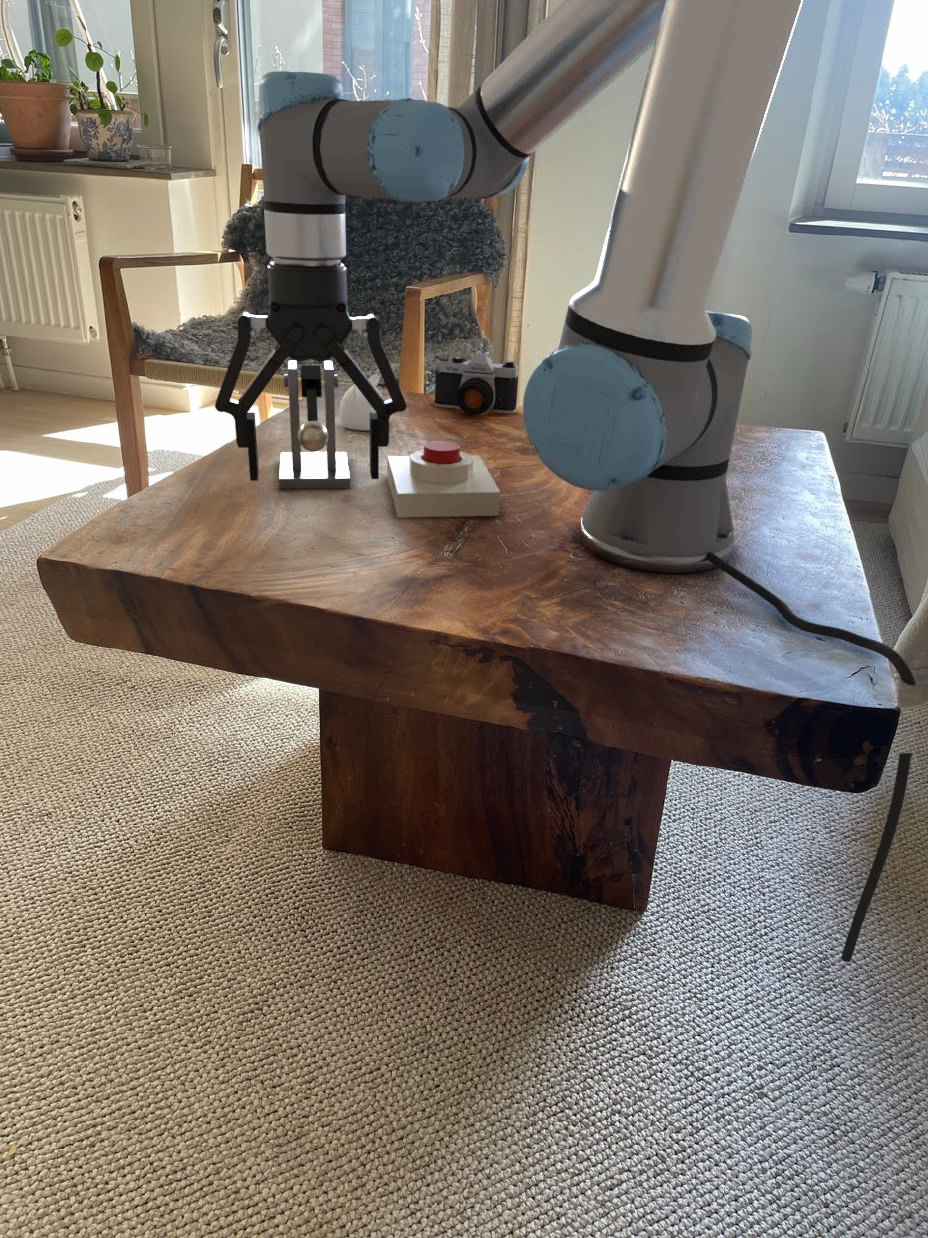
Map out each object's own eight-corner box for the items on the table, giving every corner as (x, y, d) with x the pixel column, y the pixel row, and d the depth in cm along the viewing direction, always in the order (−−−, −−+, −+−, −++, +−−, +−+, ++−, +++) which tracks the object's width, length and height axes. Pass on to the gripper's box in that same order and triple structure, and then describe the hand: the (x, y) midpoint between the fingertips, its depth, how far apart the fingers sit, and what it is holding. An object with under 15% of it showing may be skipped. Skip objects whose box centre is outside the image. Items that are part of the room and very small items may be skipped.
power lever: (329, 457, 94) (328, 433, 92) (298, 457, 94) (297, 433, 91) (325, 385, 103) (324, 361, 100) (297, 385, 102) (296, 361, 100)
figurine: (372, 436, 120) (372, 387, 117) (329, 429, 122) (328, 381, 119) (395, 421, 127) (395, 375, 124) (354, 416, 129) (354, 370, 126)
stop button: (462, 466, 97) (462, 450, 96) (425, 466, 97) (426, 451, 96) (456, 455, 101) (457, 440, 100) (421, 455, 100) (422, 440, 99)
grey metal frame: (350, 488, 102) (348, 375, 96) (279, 489, 100) (272, 374, 94) (346, 461, 110) (344, 355, 104) (281, 461, 109) (275, 355, 103)
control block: (499, 515, 96) (501, 475, 94) (397, 517, 94) (397, 476, 92) (478, 476, 107) (480, 440, 105) (387, 477, 105) (387, 440, 103)
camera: (424, 414, 132) (429, 352, 128) (434, 400, 139) (440, 342, 134) (510, 428, 131) (518, 366, 126) (516, 414, 138) (524, 355, 133)
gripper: (427, 259, 91) (422, 463, 101) (181, 252, 87) (202, 466, 97) (436, 268, 84) (431, 485, 94) (171, 261, 80) (194, 489, 90)
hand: (315, 476), depth 95 cm, fingers open, 12 cm apart
